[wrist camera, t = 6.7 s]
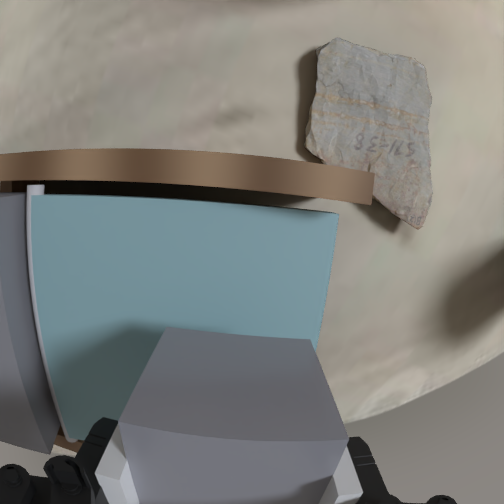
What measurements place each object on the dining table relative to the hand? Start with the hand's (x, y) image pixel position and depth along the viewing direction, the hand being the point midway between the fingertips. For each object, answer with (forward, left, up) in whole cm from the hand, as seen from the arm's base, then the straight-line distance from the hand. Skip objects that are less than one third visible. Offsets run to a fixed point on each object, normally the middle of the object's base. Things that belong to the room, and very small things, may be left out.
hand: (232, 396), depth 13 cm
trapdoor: (-7, 0, -6) cm, 9 cm away
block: (0, 0, 0) cm, 0 cm away
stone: (+10, +16, -13) cm, 23 cm away
